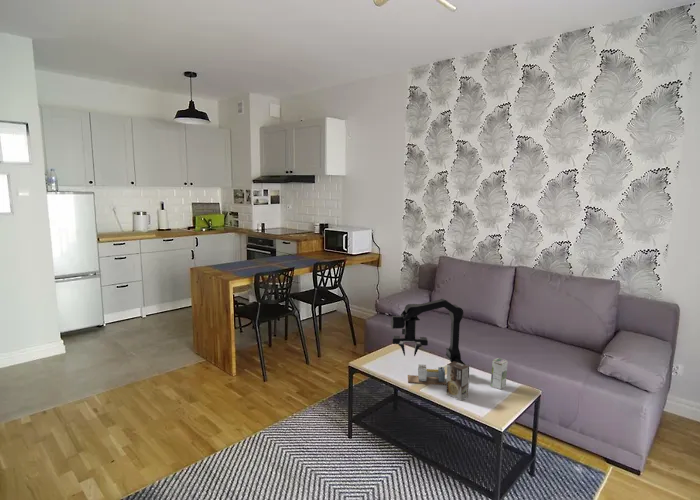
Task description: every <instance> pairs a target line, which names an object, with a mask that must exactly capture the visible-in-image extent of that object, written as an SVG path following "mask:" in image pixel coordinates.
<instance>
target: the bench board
mask: <svg viewBox="0 0 700 500" xmlns="http://www.w3.org/2000/svg"><path fill="white" fill-rule="evenodd" d="M407 383H408V384H418V385H419V384H420V385H434V386H435V385H438V386H447V379H445V383H444V382H439V381H438V377H426V382H423V381H419V379H418V375H413V374H407Z"/></svg>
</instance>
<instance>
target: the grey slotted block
mask: <svg viewBox="0 0 700 500" xmlns="http://www.w3.org/2000/svg"><path fill="white" fill-rule="evenodd" d="M427 369H428V368H427V364H418V370H417V372H418V373H417V376H418V379H419V381H423V382H426V377H427Z"/></svg>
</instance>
